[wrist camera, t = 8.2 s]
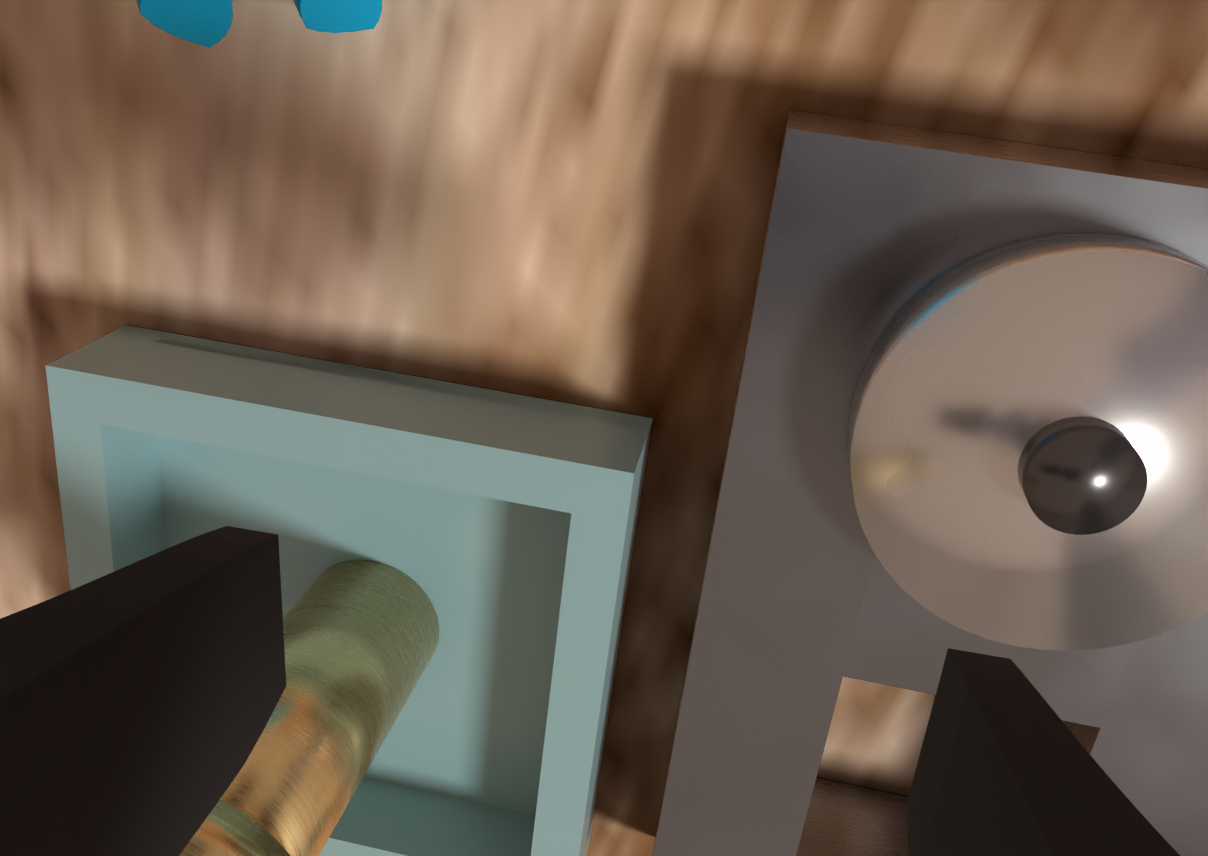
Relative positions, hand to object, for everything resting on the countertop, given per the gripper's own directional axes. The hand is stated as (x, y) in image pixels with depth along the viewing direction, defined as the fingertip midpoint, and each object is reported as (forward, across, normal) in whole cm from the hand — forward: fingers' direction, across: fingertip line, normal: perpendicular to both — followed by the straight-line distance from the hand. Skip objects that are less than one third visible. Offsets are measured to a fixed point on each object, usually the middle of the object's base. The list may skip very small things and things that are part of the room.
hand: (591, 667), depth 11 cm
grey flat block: (+9, -6, +4) cm, 12 cm away
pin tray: (+9, +6, +6) cm, 13 cm away
